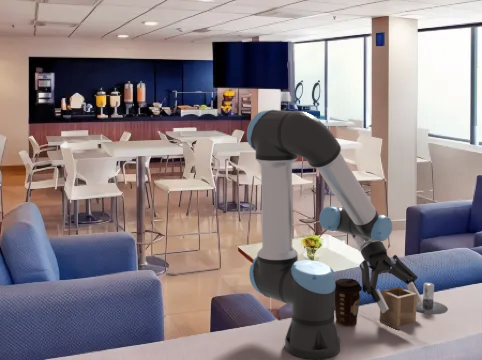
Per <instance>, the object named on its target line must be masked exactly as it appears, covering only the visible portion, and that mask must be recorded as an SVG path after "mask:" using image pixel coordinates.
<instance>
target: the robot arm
mask: <svg viewBox="0 0 482 360" xmlns="http://www.w3.org/2000/svg"><path fill="white" fill-rule="evenodd" d="M253 116H254V117H253V118H252V119H250V122H249V123H248V126H247V129H246V141H247V143H248V145H249V146H250V148H251V149H252V150H253V151H255V160H256V161H257V163H259V164H260V167H261V169H260V173H261V174H260V175H261V179H260V180H261V234H262V235H261V236H262V237H261V238H262V241H261V242H262V244H261V248H260V249H259V250H258V251H257V254H256V255H257V256H256V257H255V258H254V259H253V261H252V264H251V265H250V268H249V271H248V272H249V275H248V276H249V280H250V284H251V286H252V288H253V290H255V291H257V293H259V294H261V295H263V296H264V297H266V298H270V299H273V300H275V301H279V302H282V303H284V304H286V305H289V306H291V320H290V324H289V327H288V329H287V332H286V335H285V339H284V348H285V350H286V352H288V354H291V355H293V356H295V357H298V358H302V359H306V360H322V359H329V358H332V357H334V356H336V355H338V354H339V353H340V352H341V339H340V335H339V332H338V330H337V326H336V321H335V287H336V285H335V281H336V280H335V278H336V277H335V272H334V270H333V268H332V267H330V266H329V265H328V264H326V263H324V262H321V261H319V260H311V259H300V260H299V256H298V254H299V252H298V251H297V250H296V249H295V248H294V247H293V164H294V163H295V162H296V161H297V160H298V157H301V158H303V159H304V160H305V161H306V162H307V163H308V165H309V166H310V167H312V168H314V169H317V171H318V172H319V174H320V175H321V176H322V178H323V180H324V182H325V183H326V185H327V186H328V187H329V188H330V191H331V192H332V193H333V194H334V196H335V197H336V199H337V201H338V202H339V203H340V205H341V207H340V206H335V205H332V206H326V207H324V208H323V209H321V211H320V214H319V217H318V219H319V220H318V222H319V225H320V226H321V228H322V229H324V230H326V231H330V232H339V233H343V234H347V235H351V236H352V239H353V240H354V242H355V244H356V247H357V249H358V250H359V251H360V254H361V256H362V258H363V261H361V263H359V268H360V270H361V285H362V286H361V287H362V292H363V293H367V294H368V295H370V296H371V297H372V299H373V302H375V303H376V304H377V306H378V308H379V311H380V310H381V312H382V313H385V312H386V311H387V310H388V309H389V308H388V306H387V304H386V302H385V300H384V298H383V296H382V295H381V290H380V289H379V288H377V283H378V279H379V275H382V274H386V273H388V274H391V275H393V276H394V277H396V278H397V279H399V280H400V281H401V282H403V283H405V284H406V286H405V287H406V290H409V291H411V292H413V293H416V294H417V302H416V305H418V304H420V303H421V302H422V301H423V297H422V296H421V294H420V293H419V291H420V290H419V288H418V286H417V285H416V283H415V281H416V280H417V279H418V276H417V275H416V274H415V272H413V271H412V270H411V269H410V268H409V267H408V266H407V265H405V263H403V262H402V260H400V258H399V256H398V255H397V254H394V255H392V256H391V257H390V256H389V255H388V251H387V247H385V245H384V243H383V241H386V240H388V239H389V237H390V235H391V234H392V231H393V222H392V219H391V218H390V217H388V216H386V215H384V214H379V212H378V211H377V209H376V208H375V206H374V205H373V203H372V201H371V199H370V198H369V196H368V195H367V193H366V192H365V190H364V189H363V187H362V186H361V184H360V182H359V180H358V179H357V177H356V176H355V174H354V172H353V171H352V170H351V168H350V166H349V165H348V163H347V161H346V160H345V158H344V156H343V155H342V153H341V152H342V146H341V145H340V143H339V141H338V139H336V137H335V135H334V134H333V133H332V132H331V130H330V129H329V128H328V127H327V126H326V125H325V124H324V123H323V122H322V121H321V120H320V119H318V118H317V117H315V116H314V115H312V114H311V113H308V112H306V111H301V110H294V111H293V110H278V109H269V110H268V109H267V110H262V111H259V112H258V113H256V114H255V115H253ZM370 270H371V273H370Z"/></svg>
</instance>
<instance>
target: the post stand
mask: <svg viewBox="0 0 482 360" xmlns="http://www.w3.org/2000/svg"><path fill="white" fill-rule="evenodd" d="M422 288H423V289H422V292H423V293H422V300H423V301H422V302H421V303H420V304H418V305H416V313H418V314H419V313H420V314H425V315H441V314H445V313H446V312H448V310H449V308H448V307H447V305H445V304H443V303H441V302H437V301H435V299H434V298H435V297H434V295H435V294H434V293H435V284H434V283H432V282H424V283H423V287H422Z"/></svg>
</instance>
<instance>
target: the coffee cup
mask: <svg viewBox="0 0 482 360" xmlns="http://www.w3.org/2000/svg"><path fill="white" fill-rule="evenodd" d="M335 285H336V287H335V310H334V318H335V324H336V323H337V324H338V325H337V324H336V325H337V326H340V325H341V327H353V326H356V325H357V323H358V315H359V314H358V313H359V307H360V299H361V294H360V292H361V291H363V289H362V286H361V284H360V283H359V282H358V281H357V280H356V279H353V278H339V279H337V280H335Z"/></svg>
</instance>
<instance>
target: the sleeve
mask: <svg viewBox="0 0 482 360" xmlns="http://www.w3.org/2000/svg"><path fill="white" fill-rule="evenodd" d="M380 293H381V295H382V296H383V298H384V300H385V302H386V304H387V306H388V308H389V309H388V310H387V311H386V312H385V313H382V312H381V310H380V309H379V318H380V319H379V323H381V324H382V325H384V326H387V327H388V326H389V328H390V327H391V329H392V328H393V330H394V329H395V331H396V330H398V331H400V330H401V329H400V328H397V327H400V326H403V325H407V324H411V323H413V322H414V323H415V322H417V321H416V320H417V312H416V302H417V294H416V293H413V292H411V291H409V290H408V289H407V288H403V287H401V286H395V287H392V288H387V289H383V290H380ZM383 320H384V321H383ZM385 321H386V322H385Z"/></svg>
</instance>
